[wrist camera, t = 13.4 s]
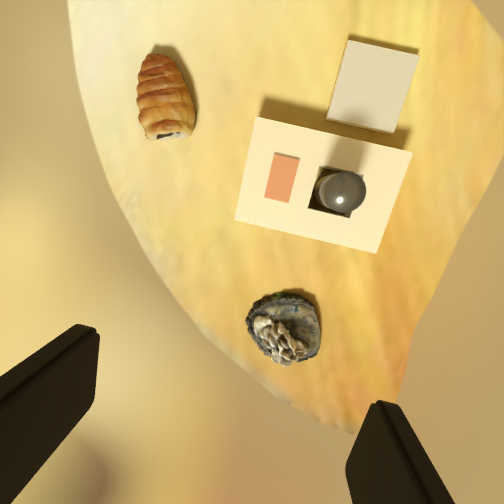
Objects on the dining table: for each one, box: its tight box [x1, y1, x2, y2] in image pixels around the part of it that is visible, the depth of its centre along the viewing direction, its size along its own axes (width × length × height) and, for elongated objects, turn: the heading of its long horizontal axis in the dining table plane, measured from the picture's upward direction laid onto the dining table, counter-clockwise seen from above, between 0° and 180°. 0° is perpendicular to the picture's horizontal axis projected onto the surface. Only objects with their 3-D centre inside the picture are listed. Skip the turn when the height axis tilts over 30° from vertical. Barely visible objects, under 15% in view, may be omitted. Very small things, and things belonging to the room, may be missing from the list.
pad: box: [325, 40, 420, 134], centre depth 30 cm, size 8×8×1 cm
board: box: [234, 117, 413, 254], centre depth 32 cm, size 12×18×3 cm, turn 77°
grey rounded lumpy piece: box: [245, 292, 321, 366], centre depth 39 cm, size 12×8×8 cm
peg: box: [314, 172, 366, 213], centre depth 30 cm, size 4×4×8 cm
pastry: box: [136, 54, 195, 141], centre depth 31 cm, size 9×7×4 cm
